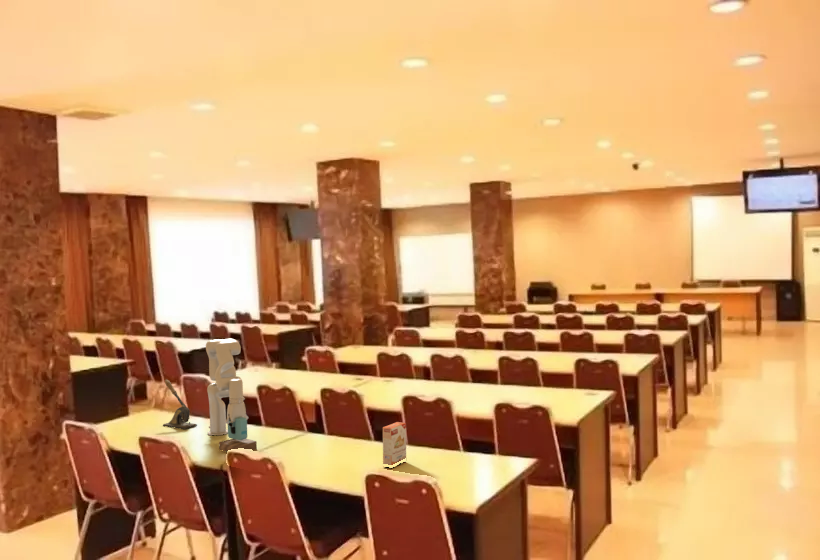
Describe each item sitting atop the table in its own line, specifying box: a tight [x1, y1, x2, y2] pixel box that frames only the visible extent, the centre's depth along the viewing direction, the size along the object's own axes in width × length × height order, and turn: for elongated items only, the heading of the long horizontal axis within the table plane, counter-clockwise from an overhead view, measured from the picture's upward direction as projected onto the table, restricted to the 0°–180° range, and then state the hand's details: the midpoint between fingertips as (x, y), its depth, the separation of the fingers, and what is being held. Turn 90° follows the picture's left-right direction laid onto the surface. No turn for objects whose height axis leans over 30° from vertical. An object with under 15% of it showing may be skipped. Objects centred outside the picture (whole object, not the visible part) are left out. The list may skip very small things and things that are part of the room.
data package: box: [227, 417, 248, 440], centre depth 406 cm, size 12×4×12 cm, turn 51°
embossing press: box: [162, 379, 198, 430], centre depth 468 cm, size 11×24×30 cm, turn 54°
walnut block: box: [218, 438, 257, 452], centre depth 406 cm, size 16×14×5 cm
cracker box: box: [382, 421, 407, 465], centre depth 369 cm, size 14×6×21 cm, turn 148°
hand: (237, 432), depth 406 cm, fingers closed on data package, 4 cm apart
